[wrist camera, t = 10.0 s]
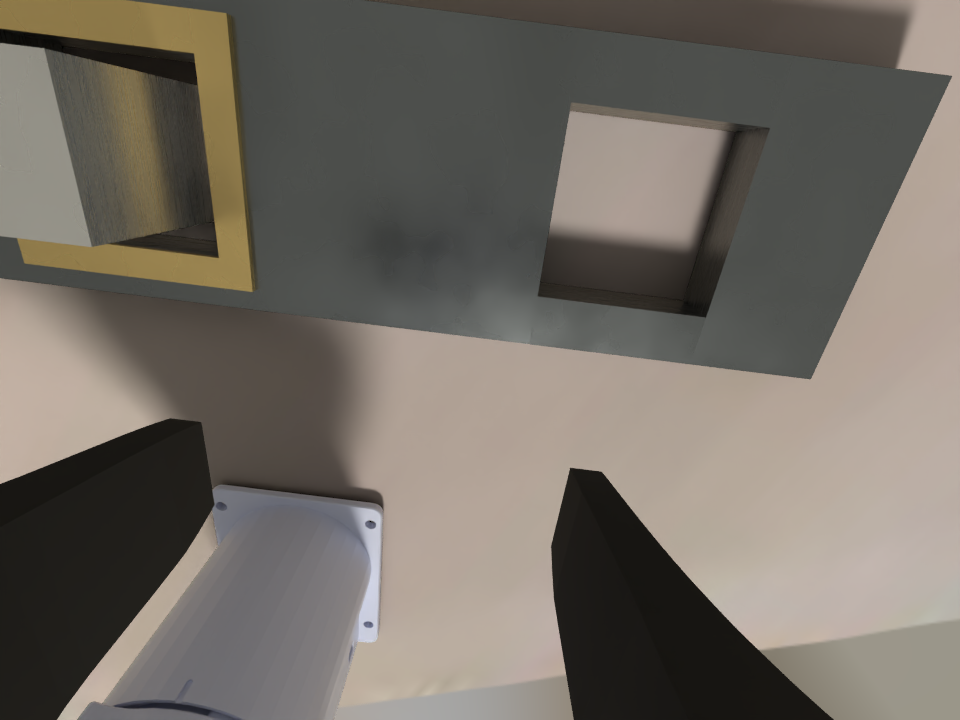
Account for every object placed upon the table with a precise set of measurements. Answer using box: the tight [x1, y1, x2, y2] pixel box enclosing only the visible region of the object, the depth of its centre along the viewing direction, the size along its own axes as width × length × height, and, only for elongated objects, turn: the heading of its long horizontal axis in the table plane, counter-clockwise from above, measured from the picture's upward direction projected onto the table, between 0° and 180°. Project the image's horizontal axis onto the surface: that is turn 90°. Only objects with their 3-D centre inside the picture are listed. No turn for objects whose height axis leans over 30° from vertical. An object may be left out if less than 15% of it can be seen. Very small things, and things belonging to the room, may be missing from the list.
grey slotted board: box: [0, 0, 952, 379], centre depth 14 cm, size 9×30×2 cm, turn 83°
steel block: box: [0, 43, 214, 247], centre depth 13 cm, size 4×4×6 cm
